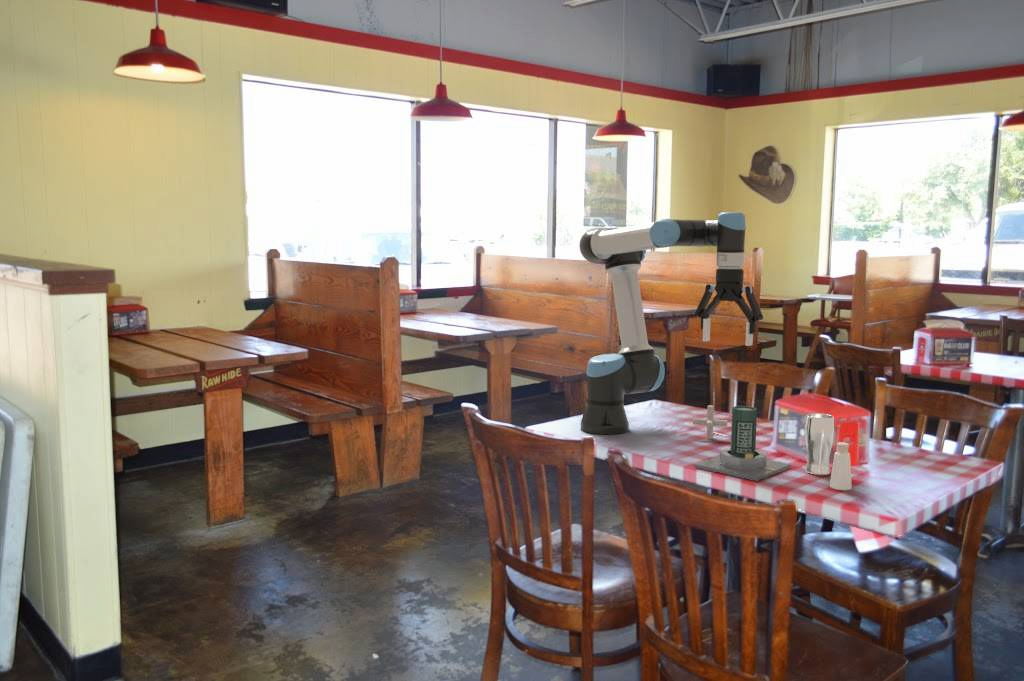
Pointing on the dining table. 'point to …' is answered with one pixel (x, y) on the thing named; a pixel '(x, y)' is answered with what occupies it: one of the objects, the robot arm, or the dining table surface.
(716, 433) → the butter knife
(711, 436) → the pipe connector
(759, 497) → the dining table surface
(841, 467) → the pepper shaker
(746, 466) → the collar
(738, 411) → the can
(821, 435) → the beer glass
